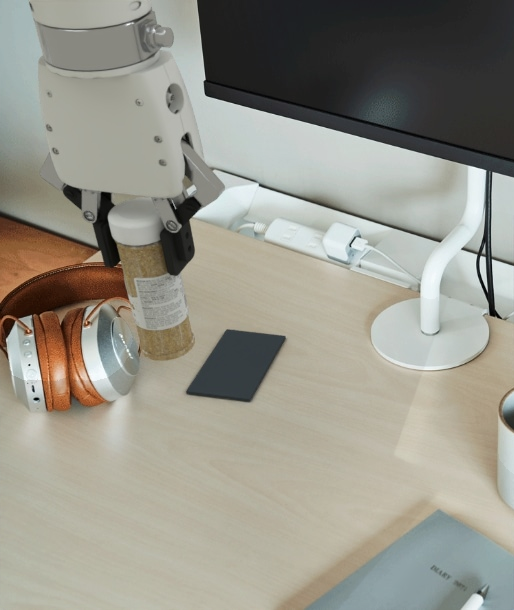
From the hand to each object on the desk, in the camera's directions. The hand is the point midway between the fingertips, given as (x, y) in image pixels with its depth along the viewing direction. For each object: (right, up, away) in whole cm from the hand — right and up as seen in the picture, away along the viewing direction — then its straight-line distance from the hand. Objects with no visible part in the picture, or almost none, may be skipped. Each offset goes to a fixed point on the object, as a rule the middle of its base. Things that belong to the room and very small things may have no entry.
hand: (149, 260), depth 73 cm
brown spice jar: (0, -7, +5) cm, 9 cm away
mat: (0, -10, +27) cm, 29 cm away
